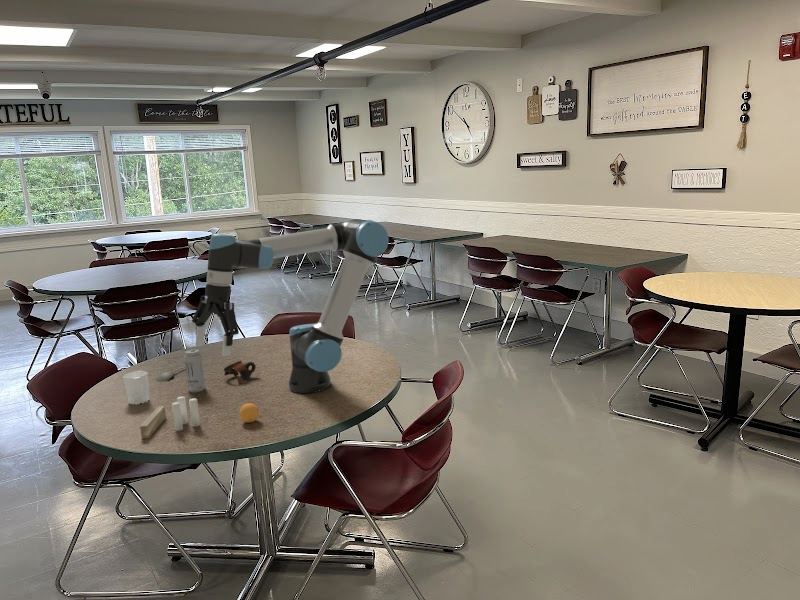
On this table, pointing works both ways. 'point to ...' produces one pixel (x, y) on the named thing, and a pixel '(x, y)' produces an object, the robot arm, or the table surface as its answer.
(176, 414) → the pin
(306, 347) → the robot arm
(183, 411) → the pin
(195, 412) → the front pin
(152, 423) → the back wall
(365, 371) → the table surface
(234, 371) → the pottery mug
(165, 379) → the soupspoon
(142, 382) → the white cup
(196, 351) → the energy drink can
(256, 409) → the ball
